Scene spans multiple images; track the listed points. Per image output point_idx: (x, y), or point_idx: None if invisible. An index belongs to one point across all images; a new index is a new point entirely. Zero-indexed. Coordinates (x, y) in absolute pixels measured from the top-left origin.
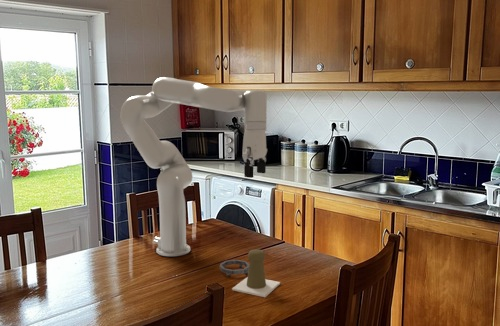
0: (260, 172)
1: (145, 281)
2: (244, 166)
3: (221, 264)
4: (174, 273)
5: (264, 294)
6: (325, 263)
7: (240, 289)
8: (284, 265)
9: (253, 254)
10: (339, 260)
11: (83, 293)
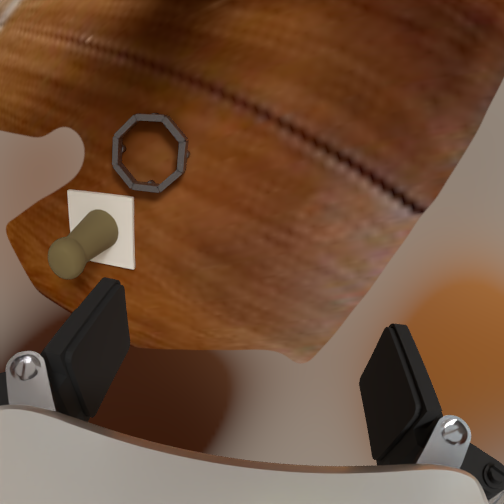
0: (372, 355)
1: (48, 12)
2: (50, 342)
3: (138, 118)
4: (95, 28)
5: None
6: (285, 331)
7: (70, 207)
8: (241, 254)
9: (48, 260)
10: (312, 351)
11: None
